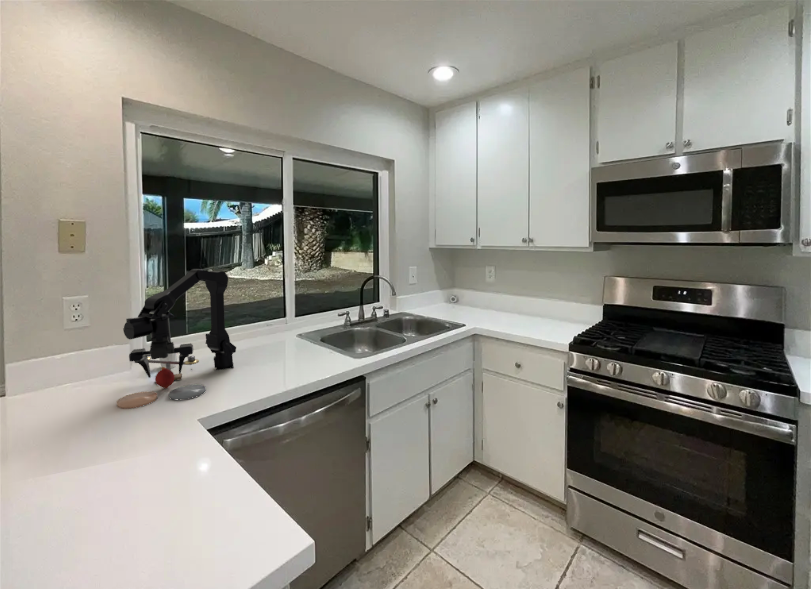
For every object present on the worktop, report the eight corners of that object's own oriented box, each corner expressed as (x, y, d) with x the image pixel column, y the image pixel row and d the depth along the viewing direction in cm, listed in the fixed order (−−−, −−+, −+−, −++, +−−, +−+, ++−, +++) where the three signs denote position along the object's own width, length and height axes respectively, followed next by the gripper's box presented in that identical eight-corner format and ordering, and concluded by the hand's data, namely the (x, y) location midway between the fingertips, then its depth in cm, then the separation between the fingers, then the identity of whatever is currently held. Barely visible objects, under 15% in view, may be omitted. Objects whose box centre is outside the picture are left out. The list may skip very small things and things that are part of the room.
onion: (170, 384, 143) (168, 363, 142) (178, 387, 140) (176, 365, 139) (153, 389, 139) (151, 367, 137) (161, 392, 135) (158, 370, 134)
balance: (200, 373, 154) (198, 350, 153) (199, 377, 150) (197, 353, 148) (138, 381, 146) (135, 357, 145) (135, 386, 141) (132, 361, 140)
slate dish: (206, 385, 142) (206, 382, 141) (205, 396, 132) (204, 393, 131) (171, 390, 137) (171, 387, 137) (167, 402, 127) (166, 399, 127)
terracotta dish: (159, 392, 136) (159, 389, 135) (154, 404, 126) (154, 401, 125) (121, 398, 131) (121, 394, 131) (112, 411, 121) (112, 407, 121)
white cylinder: (170, 370, 159) (168, 353, 158) (155, 369, 160) (153, 352, 159) (182, 364, 166) (181, 348, 164) (168, 363, 167) (167, 347, 166)
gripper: (122, 341, 125) (128, 387, 128) (188, 334, 133) (193, 378, 135) (130, 333, 135) (135, 376, 138) (191, 327, 143) (195, 368, 145)
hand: (165, 375), depth 139 cm, fingers open, 9 cm apart
